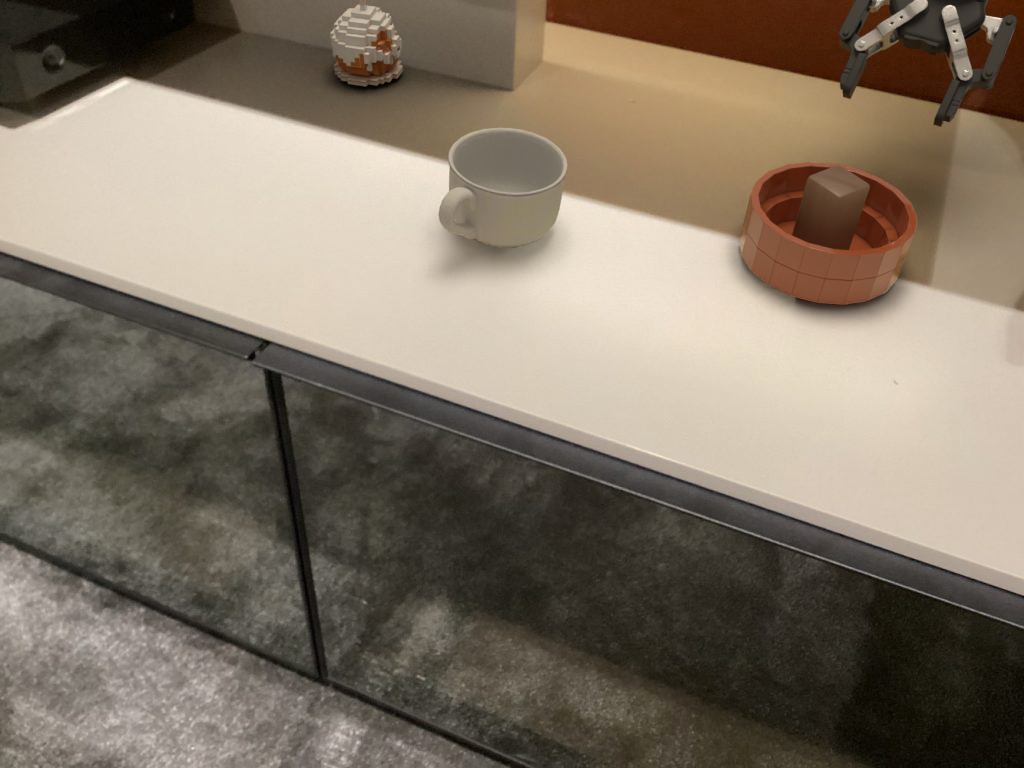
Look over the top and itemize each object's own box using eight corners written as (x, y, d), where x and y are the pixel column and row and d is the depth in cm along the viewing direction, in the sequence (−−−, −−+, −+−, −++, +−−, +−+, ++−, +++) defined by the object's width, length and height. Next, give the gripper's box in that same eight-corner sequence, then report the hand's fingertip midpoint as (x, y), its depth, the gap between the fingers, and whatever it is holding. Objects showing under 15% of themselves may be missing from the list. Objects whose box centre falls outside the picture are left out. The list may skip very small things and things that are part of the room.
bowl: (904, 237, 93) (924, 183, 89) (885, 326, 83) (907, 271, 79) (756, 201, 97) (769, 149, 92) (722, 284, 87) (735, 229, 83)
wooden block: (817, 236, 92) (839, 162, 86) (848, 258, 89) (872, 184, 84) (786, 248, 90) (806, 174, 84) (816, 271, 88) (840, 197, 82)
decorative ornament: (389, 94, 110) (380, -40, 100) (325, 85, 112) (310, -48, 101) (410, 64, 116) (403, -66, 105) (349, 55, 117) (336, -74, 106)
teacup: (513, 185, 98) (515, 114, 92) (585, 236, 92) (592, 162, 86) (400, 235, 91) (394, 161, 85) (470, 292, 85) (469, 217, 80)
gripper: (891, -98, 86) (814, 71, 87) (1057, -61, 81) (974, 118, 82) (889, -55, 93) (818, 101, 94) (1042, -18, 88) (966, 146, 89)
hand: (891, 109), depth 88 cm, fingers open, 8 cm apart
